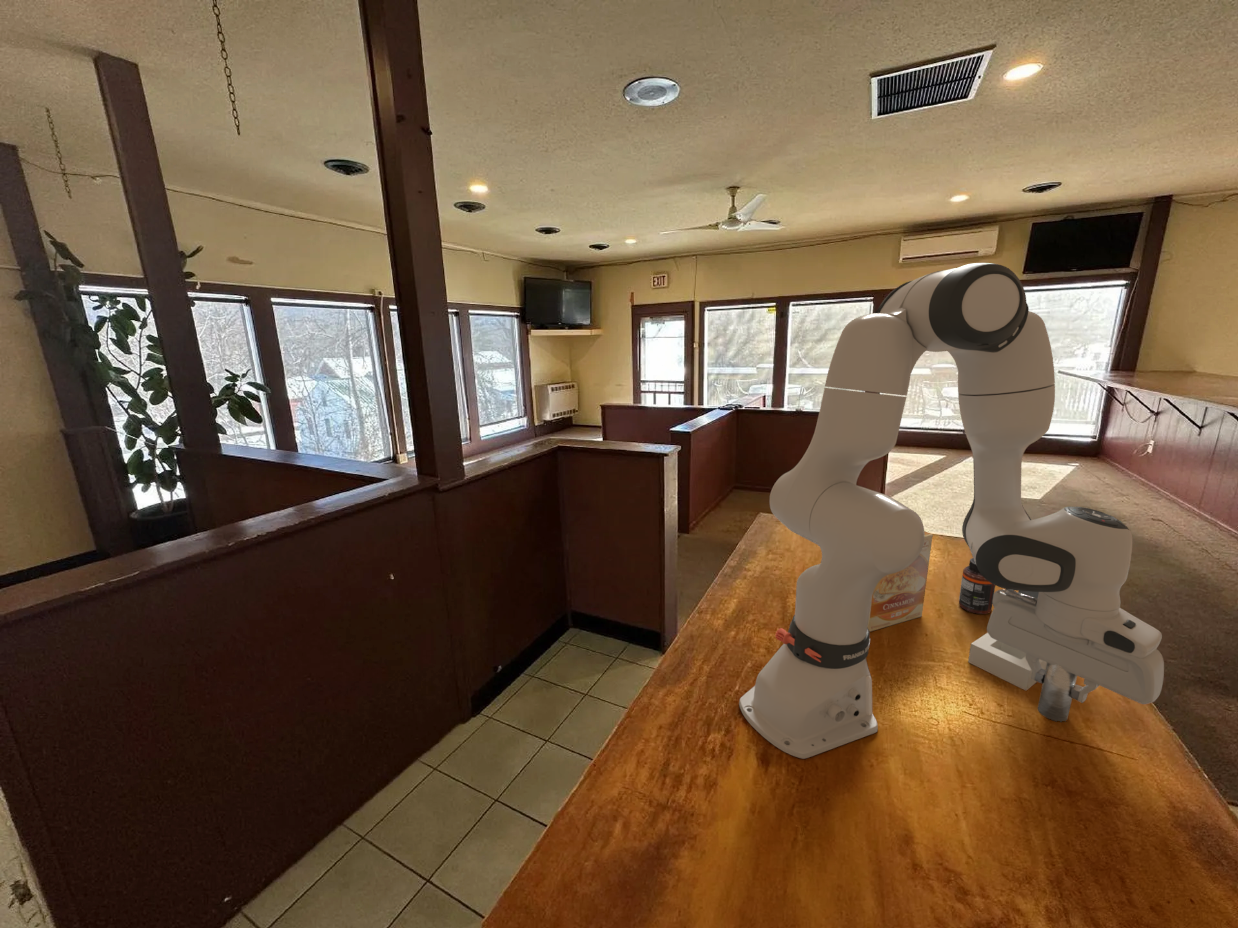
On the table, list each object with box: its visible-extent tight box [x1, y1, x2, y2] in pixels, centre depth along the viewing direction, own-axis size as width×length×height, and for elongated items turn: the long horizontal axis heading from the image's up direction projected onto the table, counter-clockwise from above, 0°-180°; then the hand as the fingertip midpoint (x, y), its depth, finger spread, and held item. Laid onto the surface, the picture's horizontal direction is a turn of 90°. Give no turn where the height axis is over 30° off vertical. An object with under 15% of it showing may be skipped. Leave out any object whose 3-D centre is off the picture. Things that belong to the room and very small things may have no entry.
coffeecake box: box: [868, 530, 934, 633], centre depth 104 cm, size 15×7×20 cm, turn 108°
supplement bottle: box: [958, 557, 996, 615], centre depth 106 cm, size 6×6×11 cm
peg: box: [1037, 662, 1078, 723], centre depth 77 cm, size 4×4×10 cm
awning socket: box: [967, 591, 1047, 691], centre depth 89 cm, size 16×12×15 cm
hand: (1057, 689), depth 77 cm, fingers closed on peg, 4 cm apart
